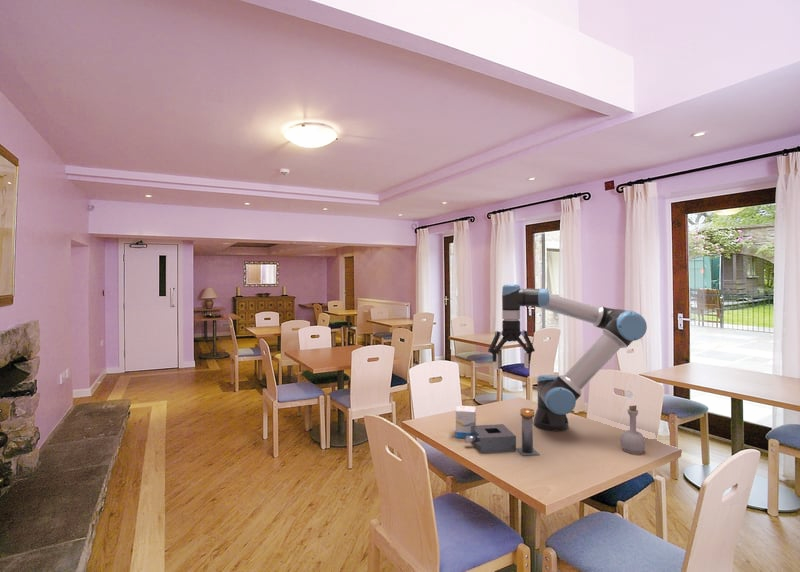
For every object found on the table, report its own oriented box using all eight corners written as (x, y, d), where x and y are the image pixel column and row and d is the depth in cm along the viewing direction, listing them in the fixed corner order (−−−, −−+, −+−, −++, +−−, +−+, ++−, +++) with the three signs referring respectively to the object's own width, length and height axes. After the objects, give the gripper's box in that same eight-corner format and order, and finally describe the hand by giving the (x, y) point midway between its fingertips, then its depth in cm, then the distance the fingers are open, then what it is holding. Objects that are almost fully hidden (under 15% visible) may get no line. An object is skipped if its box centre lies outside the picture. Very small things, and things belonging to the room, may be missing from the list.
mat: (532, 448, 170) (532, 447, 170) (539, 455, 163) (539, 454, 163) (515, 449, 170) (515, 448, 170) (522, 456, 163) (522, 455, 163)
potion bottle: (636, 456, 161) (636, 409, 161) (615, 448, 169) (615, 403, 169) (651, 452, 165) (650, 406, 165) (629, 444, 173) (629, 400, 173)
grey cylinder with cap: (519, 448, 169) (519, 408, 169) (533, 448, 169) (532, 408, 169) (521, 453, 164) (521, 412, 164) (535, 454, 164) (535, 412, 163)
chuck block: (503, 438, 181) (503, 424, 181) (516, 451, 167) (515, 435, 167) (461, 440, 179) (461, 426, 179) (471, 453, 165) (471, 438, 165)
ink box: (475, 439, 180) (475, 411, 180) (455, 437, 182) (455, 410, 182) (476, 432, 189) (476, 405, 189) (457, 431, 191) (456, 404, 190)
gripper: (534, 318, 191) (534, 365, 191) (480, 319, 188) (481, 367, 188) (542, 320, 183) (542, 369, 183) (486, 321, 180) (486, 371, 180)
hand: (511, 368), depth 186 cm, fingers open, 13 cm apart
